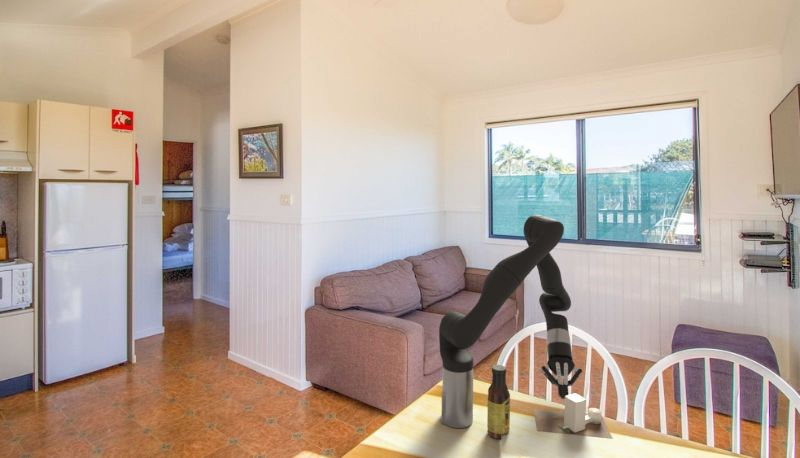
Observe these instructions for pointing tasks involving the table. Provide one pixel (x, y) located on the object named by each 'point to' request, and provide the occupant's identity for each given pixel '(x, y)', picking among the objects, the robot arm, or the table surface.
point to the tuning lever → (579, 413)
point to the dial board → (555, 424)
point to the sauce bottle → (498, 404)
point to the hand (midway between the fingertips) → (563, 398)
